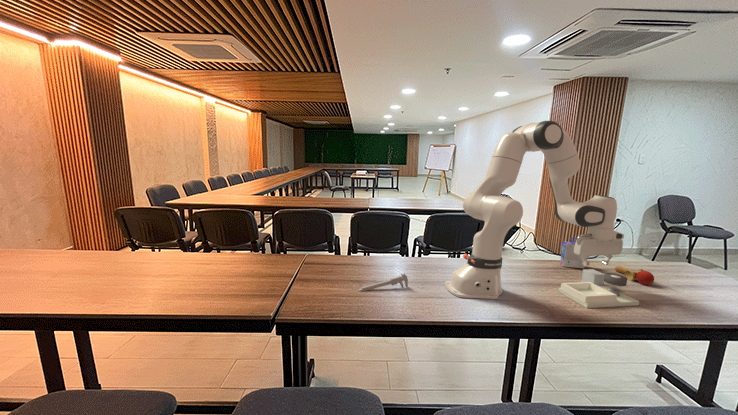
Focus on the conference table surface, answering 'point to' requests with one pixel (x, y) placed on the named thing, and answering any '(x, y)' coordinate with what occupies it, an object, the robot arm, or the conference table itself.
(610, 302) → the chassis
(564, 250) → the ink cartridge box
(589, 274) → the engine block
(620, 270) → the kendama
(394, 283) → the caliper
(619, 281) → the wheel
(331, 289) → the conference table surface
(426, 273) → the conference table surface
